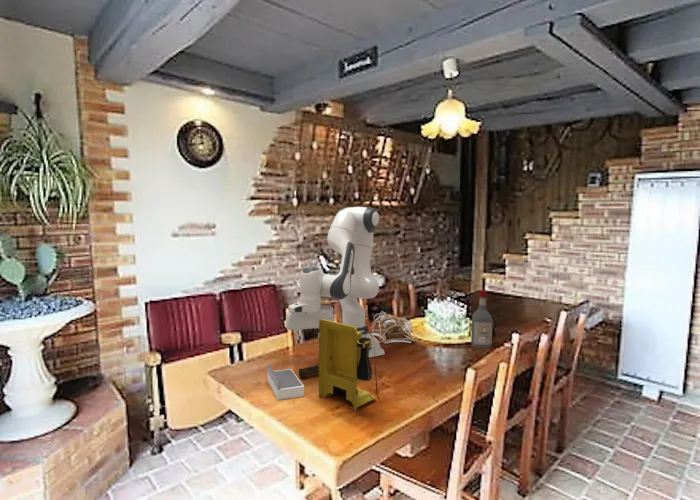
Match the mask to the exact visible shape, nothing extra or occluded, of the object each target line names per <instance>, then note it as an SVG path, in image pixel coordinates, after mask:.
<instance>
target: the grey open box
mask: <svg viewBox="0 0 700 500" xmlns="http://www.w3.org/2000/svg"><path fill="white" fill-rule="evenodd" d="M266 370H267V371H266V374H267V379H266V380H267V382H268V385H269V386H270V388H271V390H272V392H273V393H274V395H275V397H276V399H277V401H280V400H282V401H283V400H287V399H294V398H295V399H296V398H301V397H305V385H304V384H303V383H302V381H301V380H300V379H299V377H298V376H297V375H296V373H295V372H294V371H293V369H292V368H289V369H287V368H285V369H280V370H274V369H273V367H272V366H271V364H267V367H266Z"/></svg>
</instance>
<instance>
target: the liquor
mask: <svg viewBox="0 0 700 500" xmlns="http://www.w3.org/2000/svg"><path fill="white" fill-rule="evenodd" d="M487 292H488V290H485V289H479V293H478V294H479V300H478V301H479V303H478V308H477V309H476V311H474V312H473V314H472V315H471V334H470V335H471V338H470V341H471V343H470V344H471V346H472V347H473V348H476V349H491V348H492V346H493V345H492V342H493V322H494V321H493V316H492V315H491V314H490V312H489V311H488V309H487Z"/></svg>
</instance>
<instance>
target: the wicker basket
mask: <svg viewBox="0 0 700 500" xmlns="http://www.w3.org/2000/svg"><path fill="white" fill-rule="evenodd" d="M377 315H378V316H377ZM376 316H377V317H376ZM375 317H376V318H375ZM373 319H374V320H373V322H372V325H371V327H372V331H371V333H370V332H369V333H370V334H372V335H373V336H374V337H375V336H376V337H379V343H380V344H382V343H383V344H389V343H408V344H411V343H412V341H413V342H415V339H414V338H413V336H412V332H411V330H412V329H413V326H412V323H411V321H410V320H409V319H407V318H405V317H397V316H395V315H394V314H389V313H388V314H387V313H386V312H384V311H383V310H381V311H380V313H376V314H375V315H374V317H373ZM395 319H396V320H397V321H396V320H395ZM382 322H383V323H382ZM377 323H378V325H377ZM381 323H382V324H381ZM382 326H383V328H382ZM375 327H377V328H378V329H375ZM412 331H413V330H412ZM407 332H408V333H407ZM386 336H388V337H386ZM409 336H410V337H409ZM387 338H389V339H387Z"/></svg>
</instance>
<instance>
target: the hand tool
mask: <svg viewBox="0 0 700 500" xmlns="http://www.w3.org/2000/svg"><path fill="white" fill-rule="evenodd" d="M317 374H319V364H317V365H313V366H309V367H308V366H307V367H304V368H298V376H299V378H301V379H304V378H307V377H309V376H312V375H317Z"/></svg>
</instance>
